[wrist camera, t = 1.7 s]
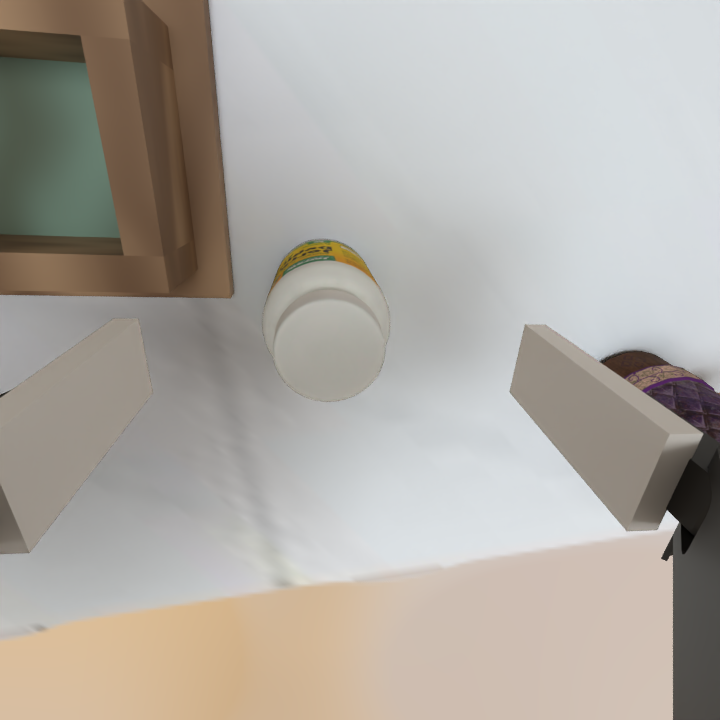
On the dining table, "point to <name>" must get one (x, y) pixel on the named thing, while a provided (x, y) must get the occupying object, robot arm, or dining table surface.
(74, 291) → the walnut caddy
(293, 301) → the supplement bottle
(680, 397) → the mug
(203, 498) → the dining table surface
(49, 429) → the robot arm
